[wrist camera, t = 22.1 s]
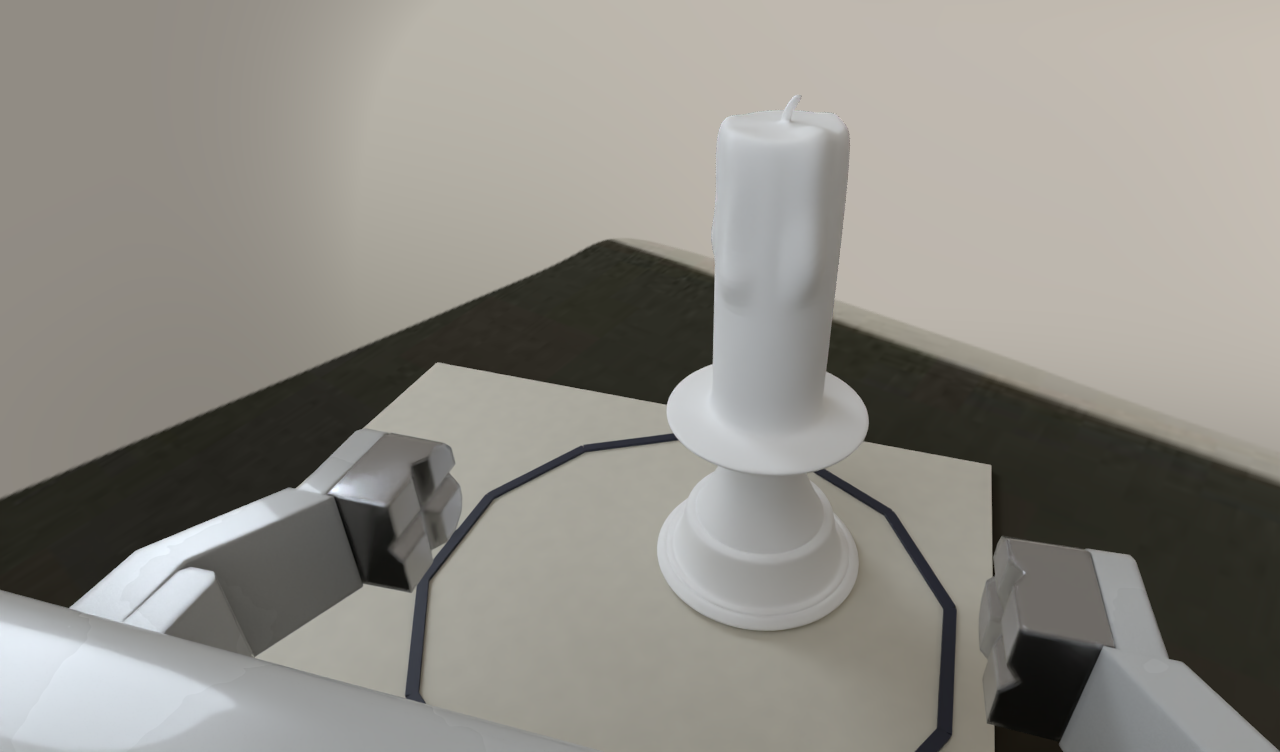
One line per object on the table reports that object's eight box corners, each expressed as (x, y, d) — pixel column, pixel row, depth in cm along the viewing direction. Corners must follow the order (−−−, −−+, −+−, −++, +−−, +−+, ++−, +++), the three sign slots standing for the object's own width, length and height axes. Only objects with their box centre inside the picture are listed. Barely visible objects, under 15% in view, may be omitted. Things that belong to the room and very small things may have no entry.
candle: (900, 593, 19) (1009, 104, 13) (709, 664, 18) (722, 148, 11) (790, 468, 24) (830, 52, 17) (628, 517, 22) (603, 79, 15)
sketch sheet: (43, 721, 17) (37, 714, 17) (437, 366, 30) (436, 360, 30) (996, 1145, 11) (1001, 1138, 11) (990, 469, 24) (992, 462, 23)
